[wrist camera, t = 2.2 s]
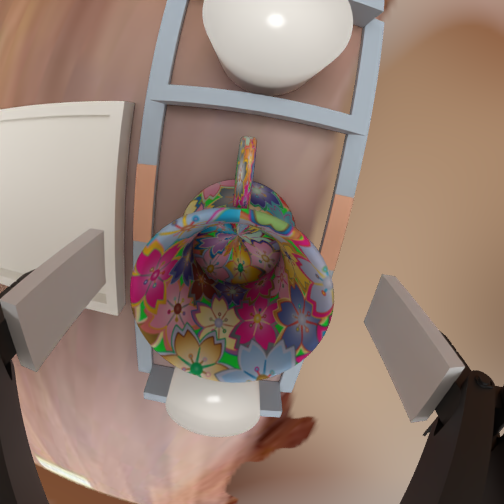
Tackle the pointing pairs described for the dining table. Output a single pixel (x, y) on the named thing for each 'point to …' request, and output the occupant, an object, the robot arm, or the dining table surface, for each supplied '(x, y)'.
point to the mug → (233, 283)
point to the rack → (354, 125)
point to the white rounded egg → (212, 405)
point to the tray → (64, 187)
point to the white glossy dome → (276, 40)
